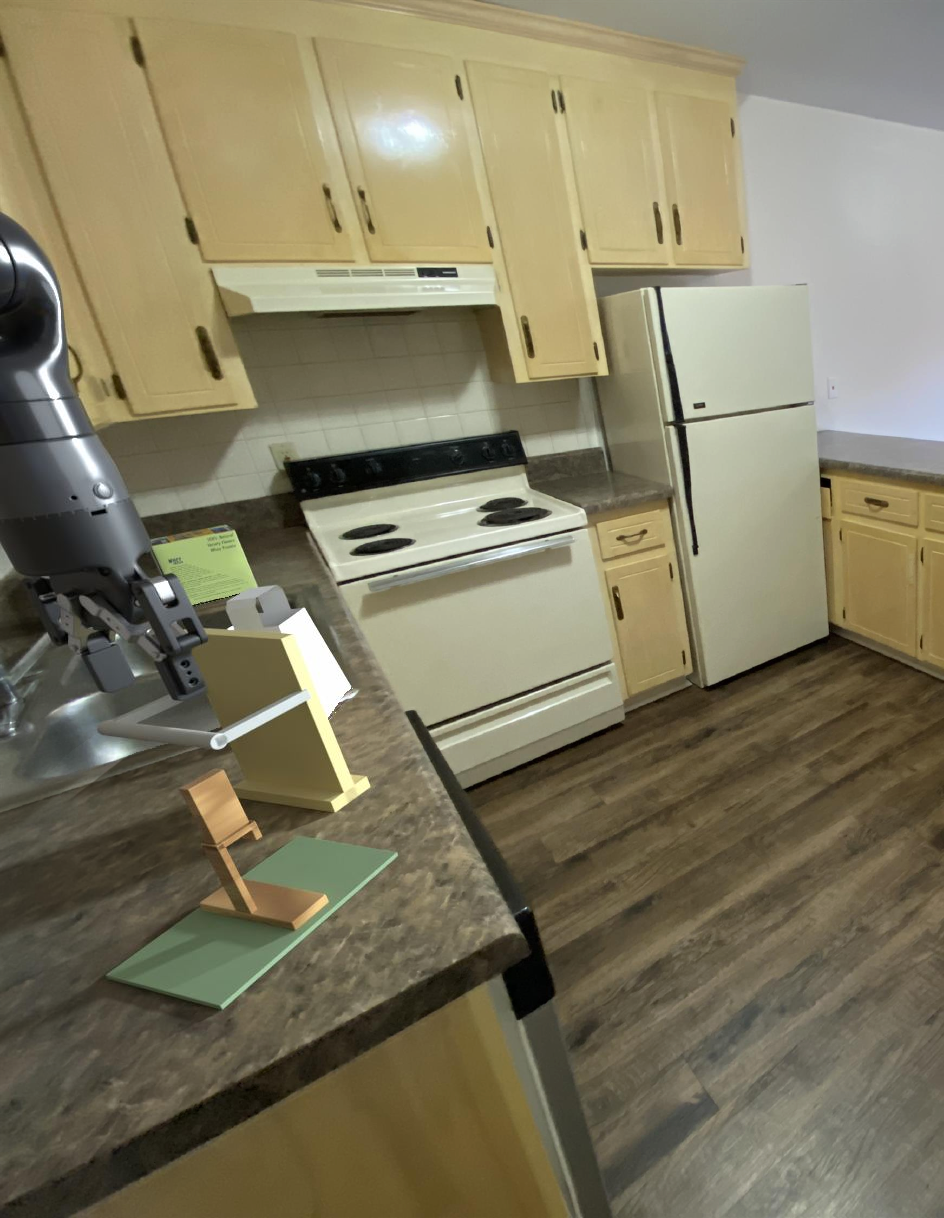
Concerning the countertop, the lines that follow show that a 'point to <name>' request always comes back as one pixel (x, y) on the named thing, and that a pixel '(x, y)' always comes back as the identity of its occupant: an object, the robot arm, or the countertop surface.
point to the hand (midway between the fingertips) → (155, 692)
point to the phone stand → (237, 896)
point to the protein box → (205, 562)
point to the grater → (300, 624)
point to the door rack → (260, 721)
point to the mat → (249, 926)
